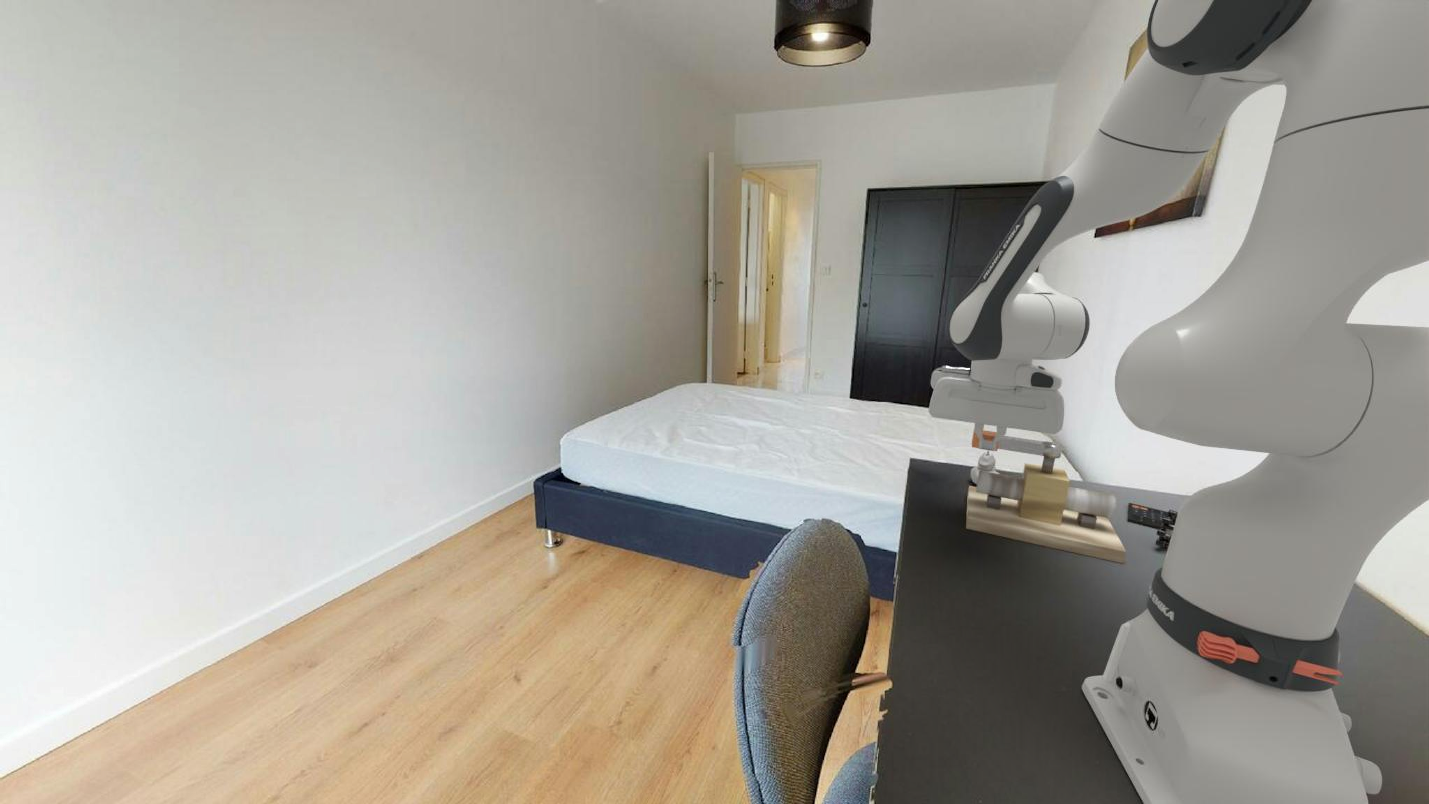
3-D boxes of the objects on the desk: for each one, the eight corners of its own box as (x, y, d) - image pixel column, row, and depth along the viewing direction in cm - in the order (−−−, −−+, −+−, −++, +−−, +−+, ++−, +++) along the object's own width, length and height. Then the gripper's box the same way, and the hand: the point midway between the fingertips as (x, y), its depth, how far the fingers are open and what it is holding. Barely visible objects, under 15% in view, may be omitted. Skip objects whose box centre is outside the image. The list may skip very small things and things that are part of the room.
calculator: (1127, 506, 101) (1131, 492, 100) (1208, 526, 94) (1212, 511, 93) (1127, 523, 94) (1130, 507, 93) (1213, 545, 87) (1218, 529, 86)
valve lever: (1058, 456, 88) (1061, 441, 88) (1061, 461, 86) (1064, 446, 85) (971, 442, 94) (974, 428, 93) (971, 447, 91) (974, 433, 91)
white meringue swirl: (963, 484, 108) (969, 448, 106) (976, 477, 112) (982, 442, 110) (991, 493, 104) (997, 455, 102) (1003, 485, 108) (1010, 449, 106)
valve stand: (1123, 563, 79) (1143, 486, 76) (966, 528, 88) (978, 458, 85) (1101, 521, 93) (1117, 455, 90) (967, 495, 102) (977, 434, 99)
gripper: (931, 366, 88) (921, 443, 91) (1074, 380, 79) (1056, 465, 83) (934, 362, 94) (924, 434, 97) (1067, 375, 85) (1051, 454, 88)
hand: (986, 449), depth 90 cm, fingers closed, pressing on valve lever
